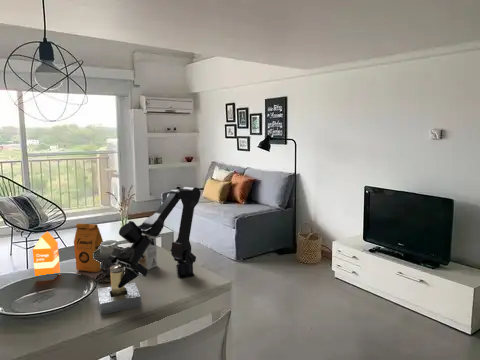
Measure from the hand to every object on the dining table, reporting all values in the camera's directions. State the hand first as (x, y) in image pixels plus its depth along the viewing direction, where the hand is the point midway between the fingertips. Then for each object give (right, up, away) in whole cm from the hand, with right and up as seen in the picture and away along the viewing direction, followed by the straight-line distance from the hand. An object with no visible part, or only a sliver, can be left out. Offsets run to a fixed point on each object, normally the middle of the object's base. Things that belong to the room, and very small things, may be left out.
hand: (114, 285), depth 141 cm
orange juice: (-39, -4, +28) cm, 48 cm away
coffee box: (+2, -2, +40) cm, 40 cm away
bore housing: (+1, -7, +2) cm, 7 cm away
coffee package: (-23, -3, +37) cm, 44 cm away
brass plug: (+1, -7, +2) cm, 7 cm away
